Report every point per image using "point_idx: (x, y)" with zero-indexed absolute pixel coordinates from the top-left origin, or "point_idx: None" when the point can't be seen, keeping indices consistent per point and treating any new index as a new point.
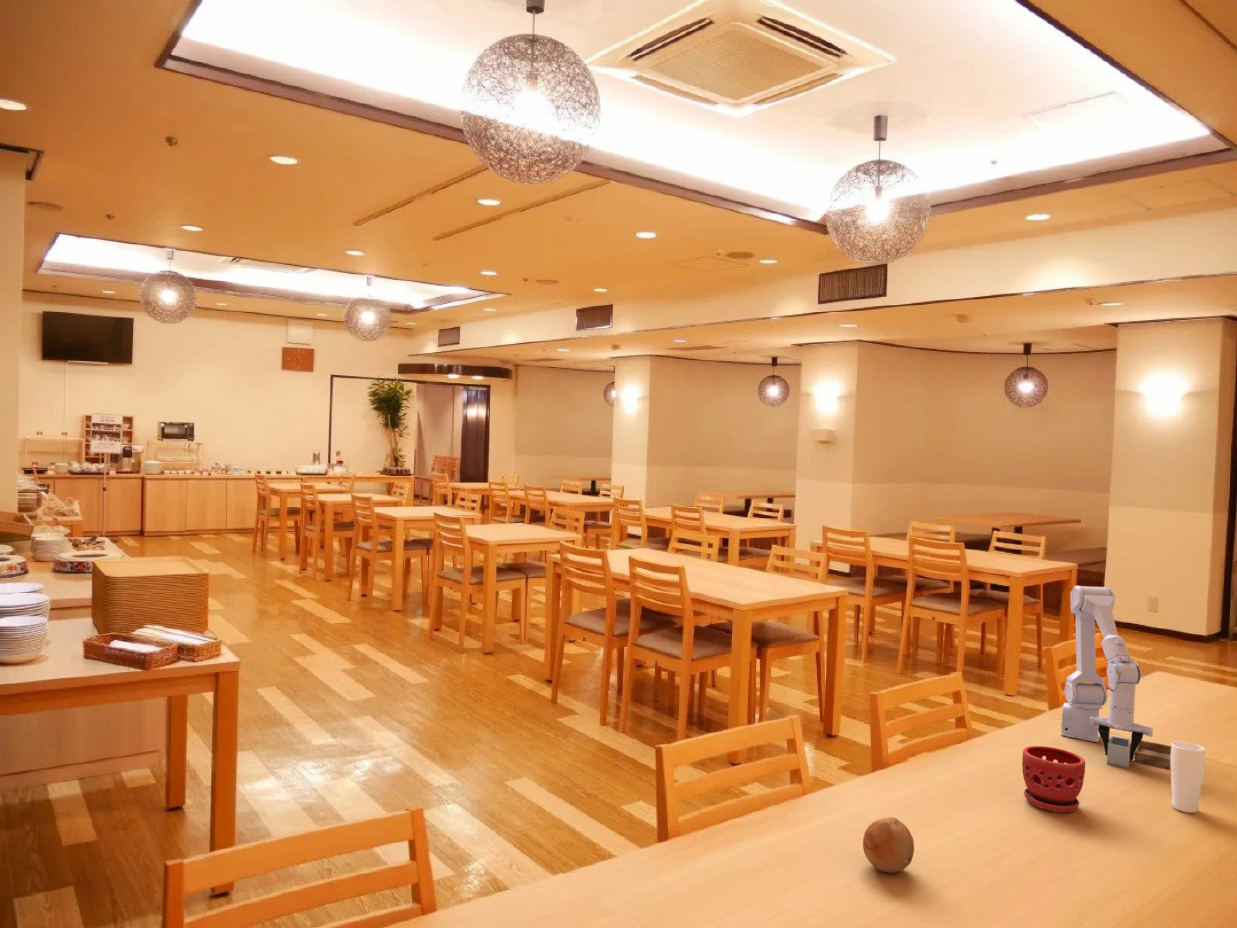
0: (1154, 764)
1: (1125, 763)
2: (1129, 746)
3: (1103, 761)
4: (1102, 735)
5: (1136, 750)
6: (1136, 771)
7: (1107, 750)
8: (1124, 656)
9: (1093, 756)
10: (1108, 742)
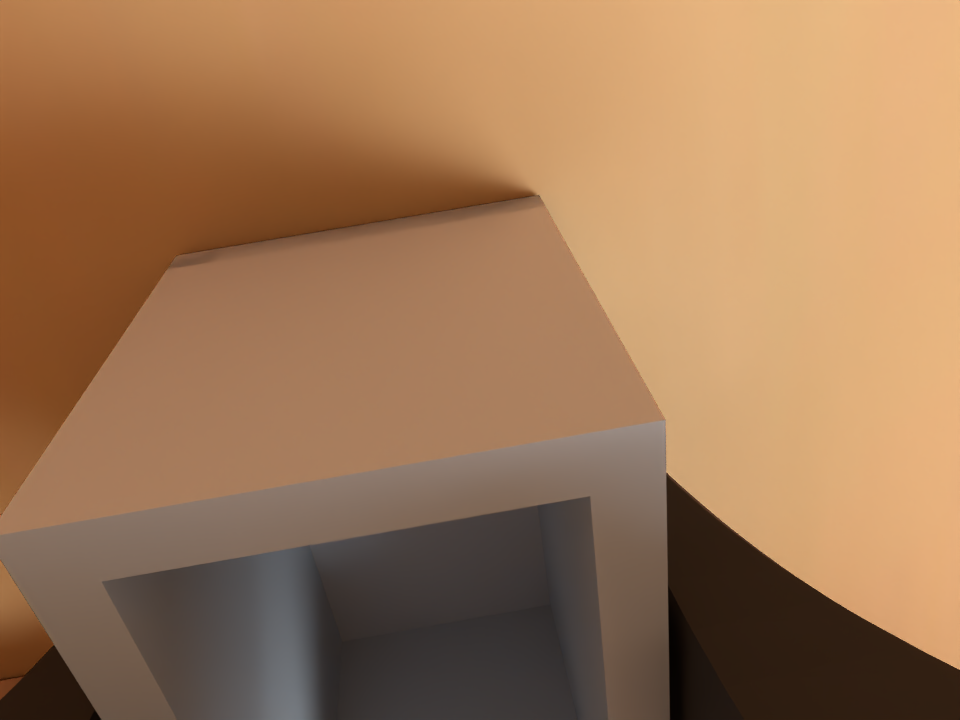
0: (12, 687)
1: (216, 280)
2: (81, 652)
3: (610, 294)
4: (935, 702)
5: None
6: (18, 216)
7: None
8: None
9: (770, 403)
10: (662, 539)
